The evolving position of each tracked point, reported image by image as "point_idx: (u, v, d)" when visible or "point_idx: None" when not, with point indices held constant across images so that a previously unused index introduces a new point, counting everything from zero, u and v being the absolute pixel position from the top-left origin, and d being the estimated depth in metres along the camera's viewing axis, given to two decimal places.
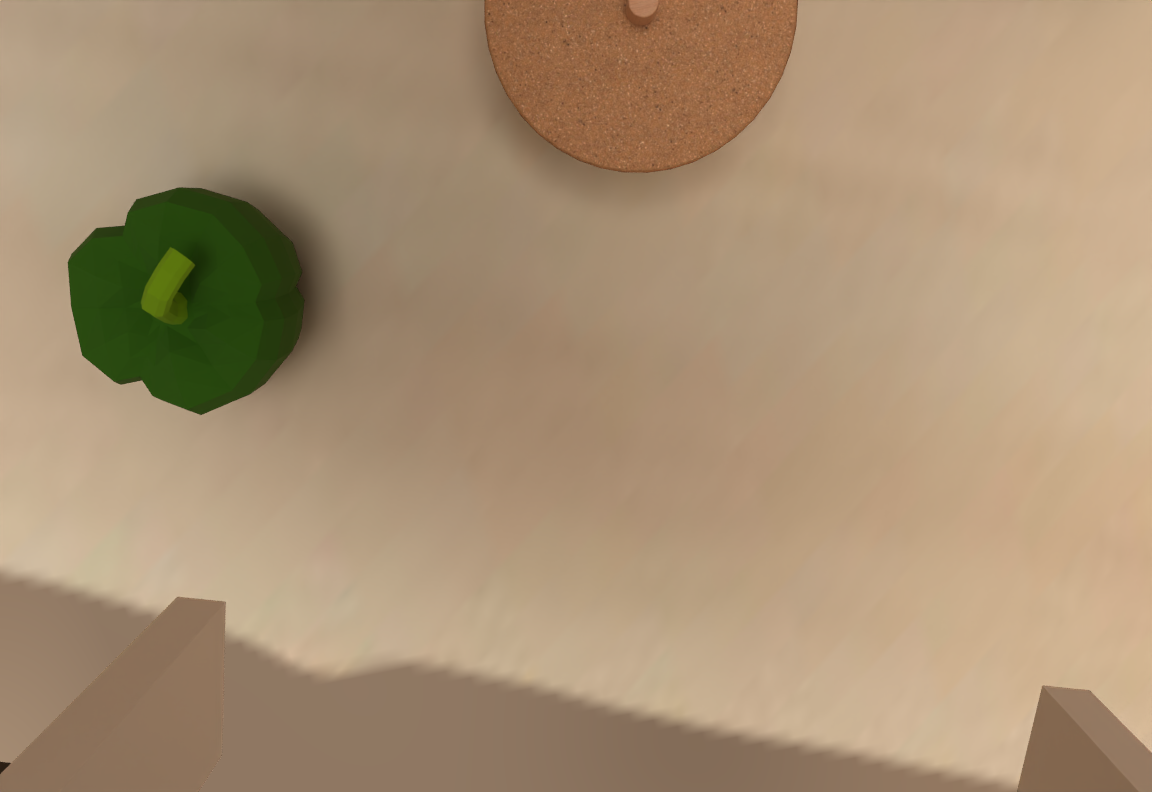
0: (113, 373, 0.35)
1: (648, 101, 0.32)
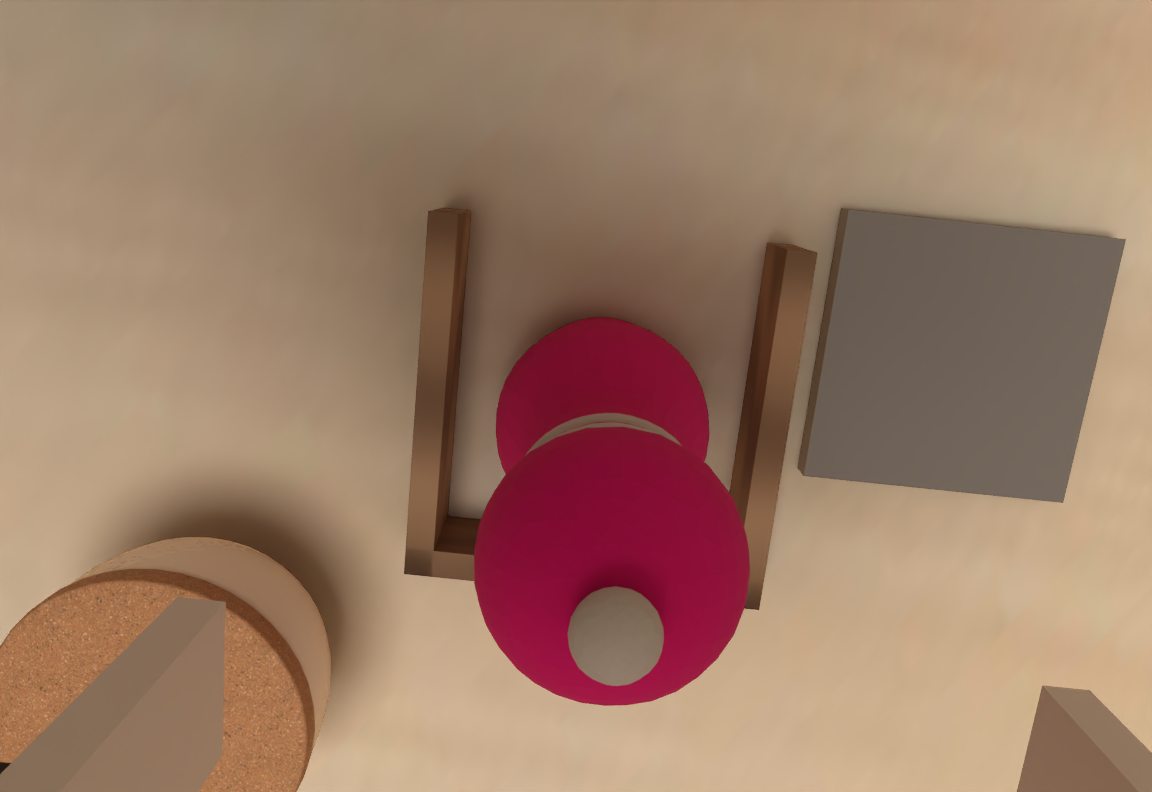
0: None
1: None
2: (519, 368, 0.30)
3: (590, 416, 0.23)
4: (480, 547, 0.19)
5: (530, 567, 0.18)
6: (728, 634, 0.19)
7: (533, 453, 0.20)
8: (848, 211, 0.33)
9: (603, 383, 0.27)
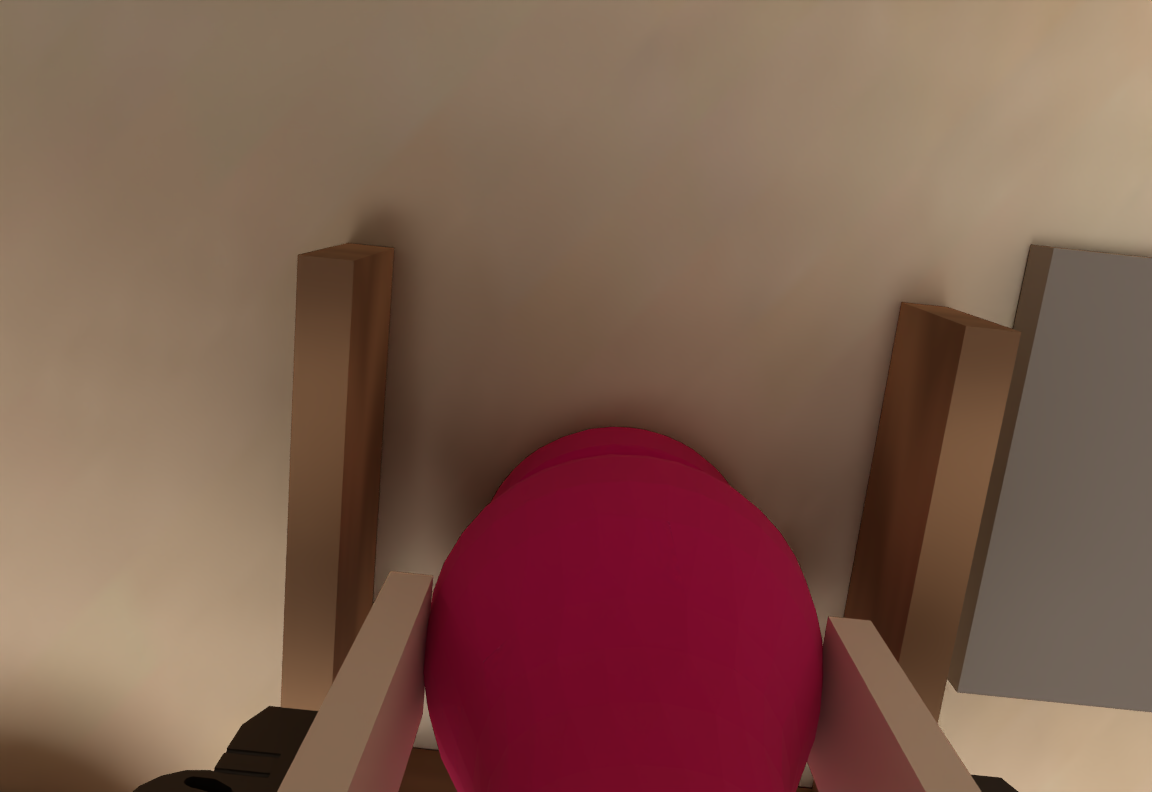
0: None
1: None
2: (464, 555, 0.16)
3: None
4: None
5: None
6: None
7: None
8: (1054, 251, 0.19)
9: (629, 626, 0.13)
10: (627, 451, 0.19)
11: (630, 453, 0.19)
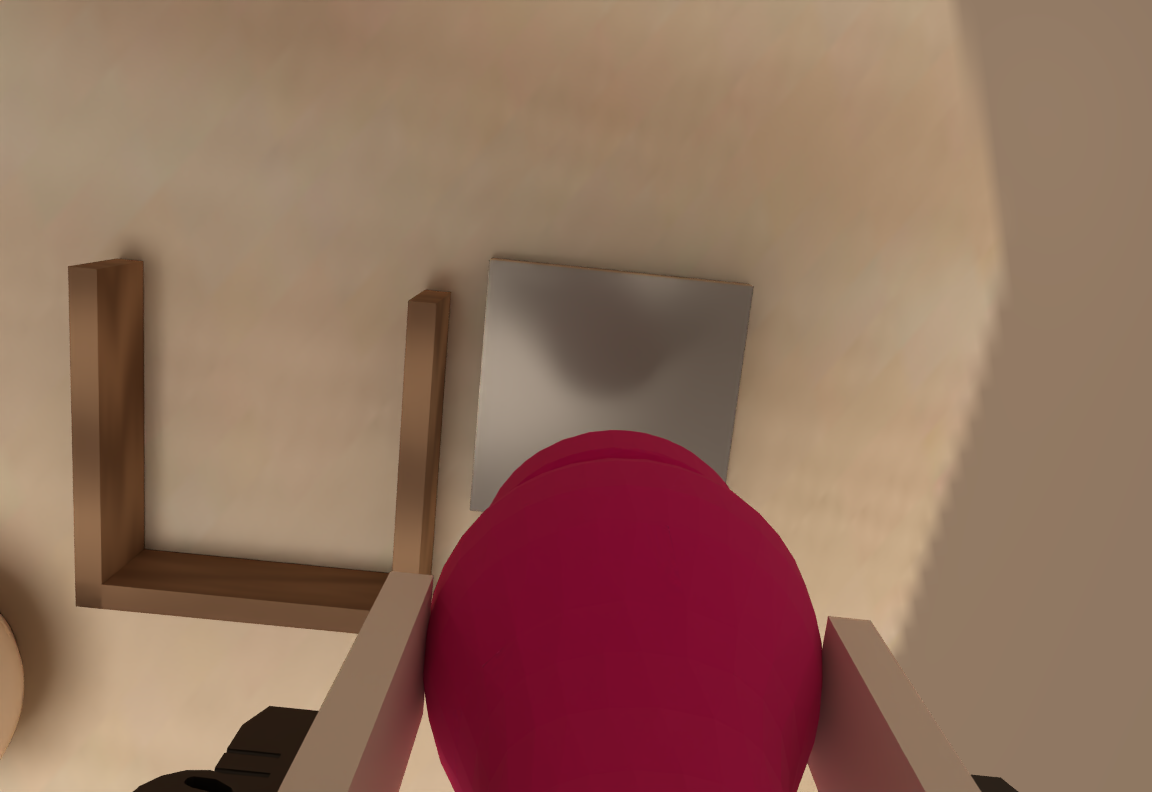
0: None
1: None
2: (464, 559, 0.16)
3: None
4: None
5: None
6: None
7: None
8: (489, 261, 0.35)
9: (628, 631, 0.13)
10: (626, 454, 0.19)
11: (629, 456, 0.19)
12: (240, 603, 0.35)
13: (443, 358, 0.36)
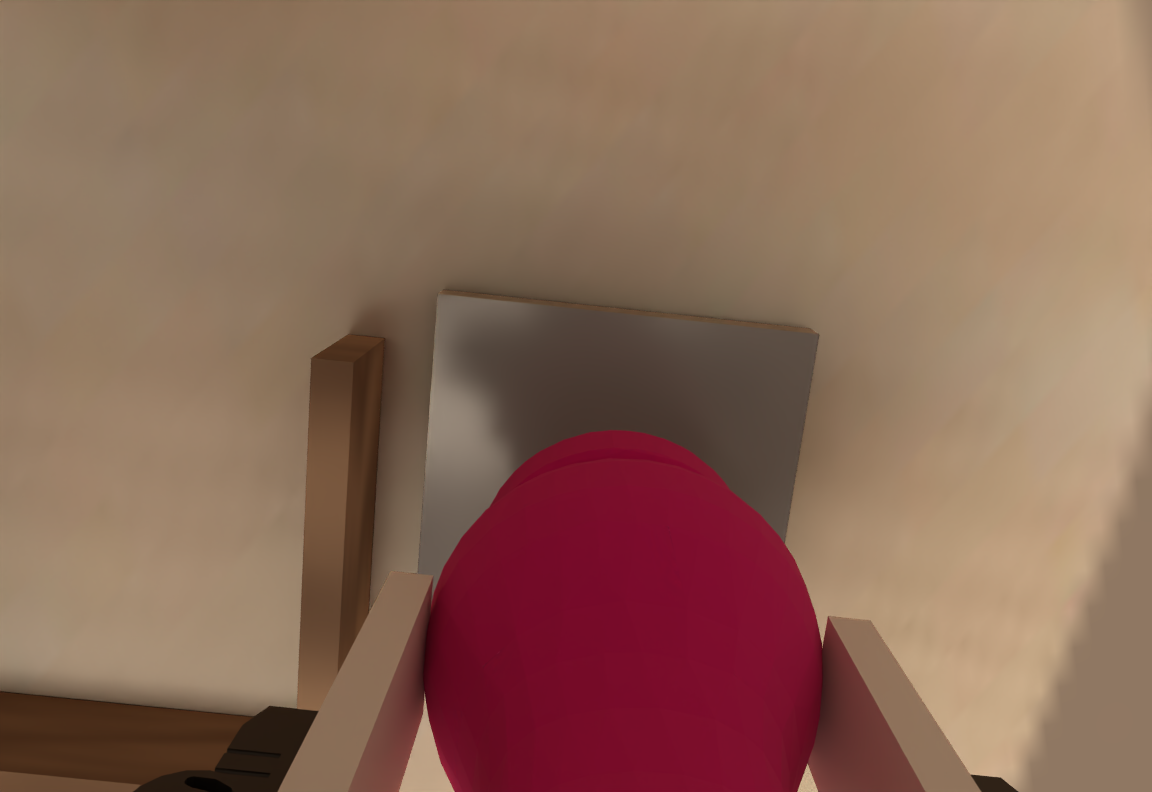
0: None
1: None
2: (464, 560, 0.16)
3: None
4: None
5: None
6: None
7: None
8: (438, 296, 0.24)
9: (628, 631, 0.13)
10: (626, 454, 0.19)
11: (630, 456, 0.19)
12: (78, 785, 0.25)
13: (373, 433, 0.25)
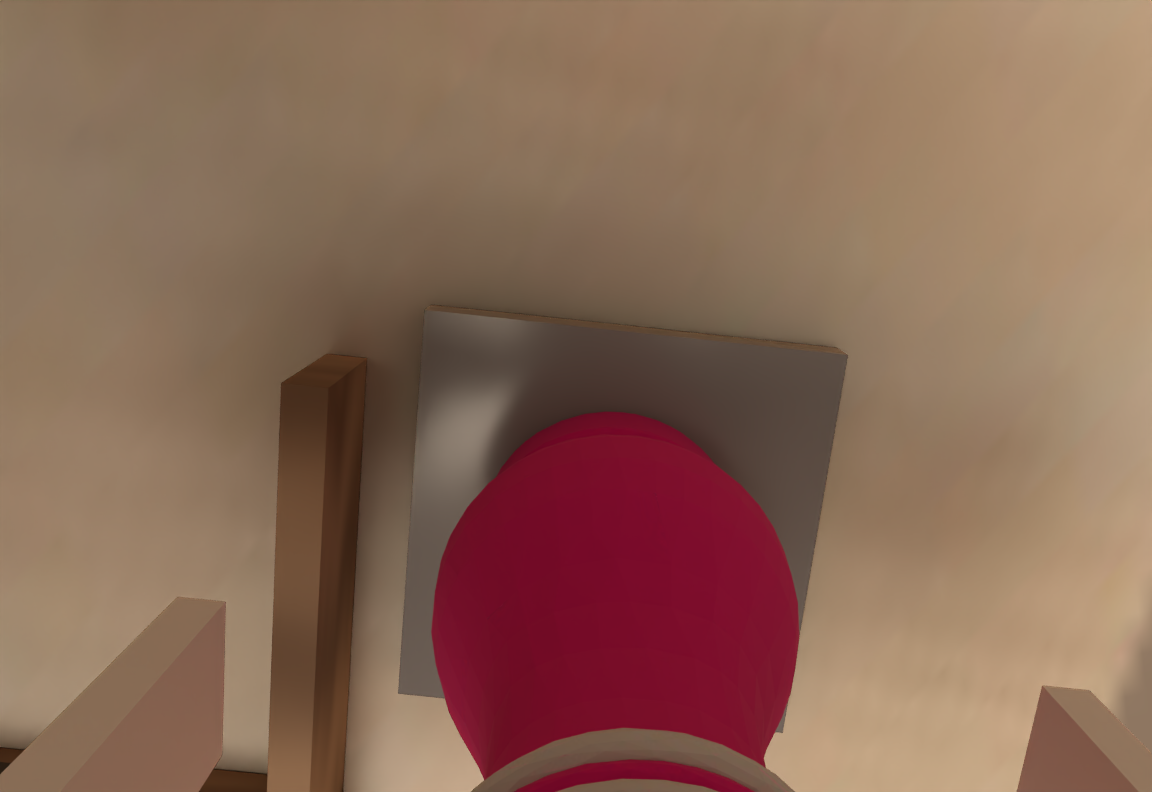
0: None
1: None
2: (469, 526, 0.17)
3: (594, 740, 0.10)
4: None
5: None
6: None
7: None
8: (424, 312, 0.22)
9: (618, 584, 0.14)
10: (619, 433, 0.20)
11: (622, 435, 0.20)
12: None
13: (354, 463, 0.23)
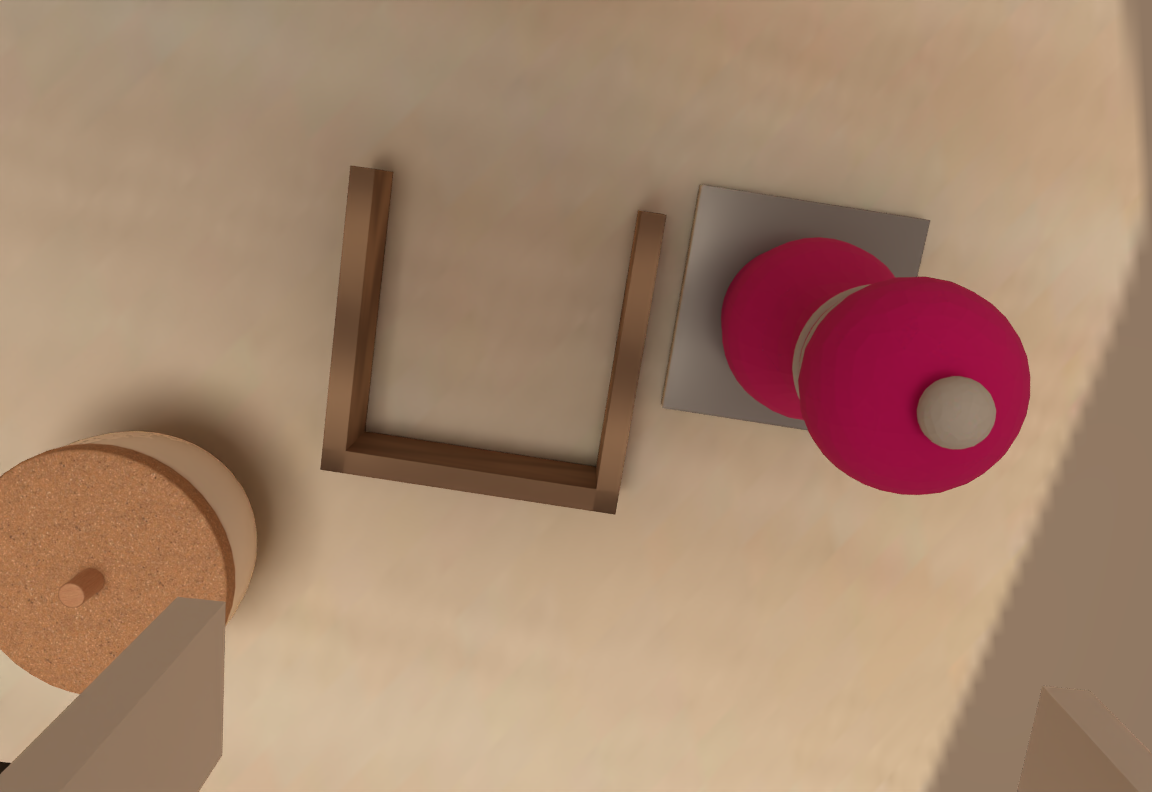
0: None
1: (103, 649, 0.38)
2: (754, 272, 0.35)
3: (868, 285, 0.28)
4: (821, 360, 0.25)
5: (878, 366, 0.23)
6: (1016, 434, 0.24)
7: (858, 293, 0.25)
8: (702, 185, 0.40)
9: (844, 278, 0.33)
10: None
11: None
12: (465, 474, 0.40)
13: None
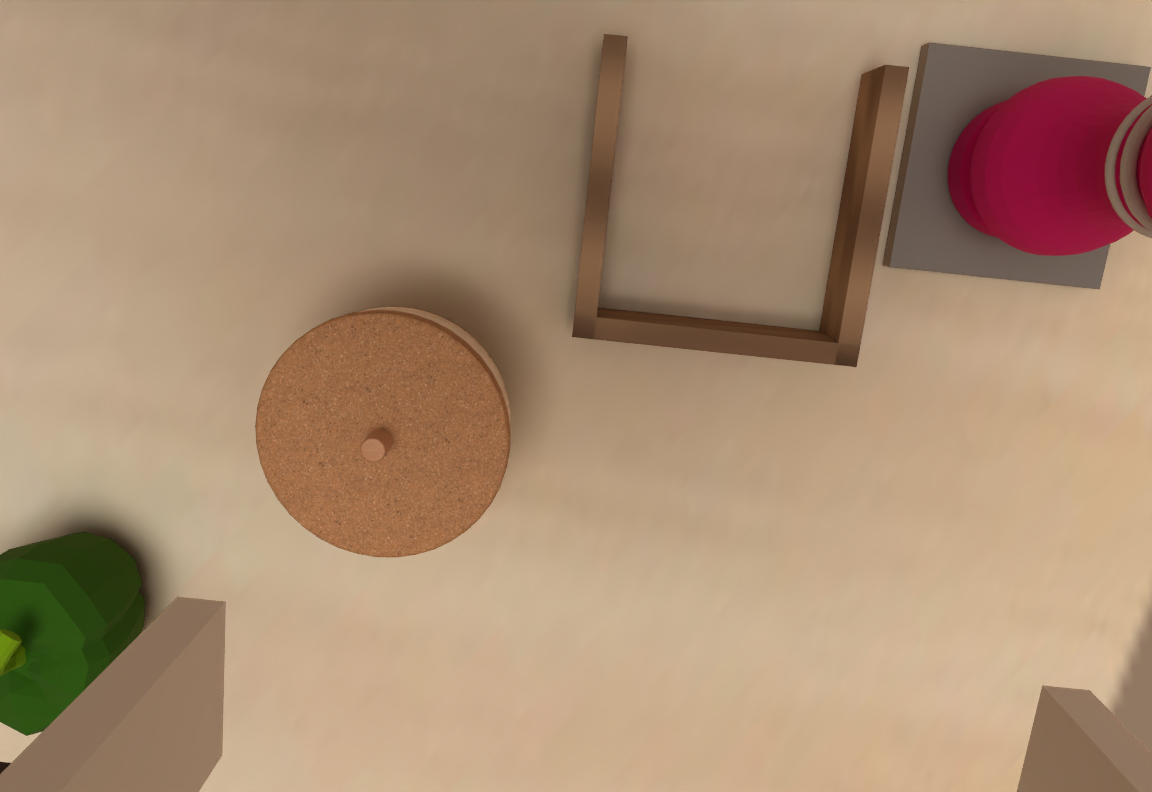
0: None
1: (390, 508, 0.39)
2: (1012, 110, 0.37)
3: None
4: None
5: None
6: None
7: None
8: (929, 44, 0.41)
9: (1120, 99, 0.34)
10: None
11: None
12: (712, 334, 0.42)
13: None
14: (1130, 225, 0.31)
